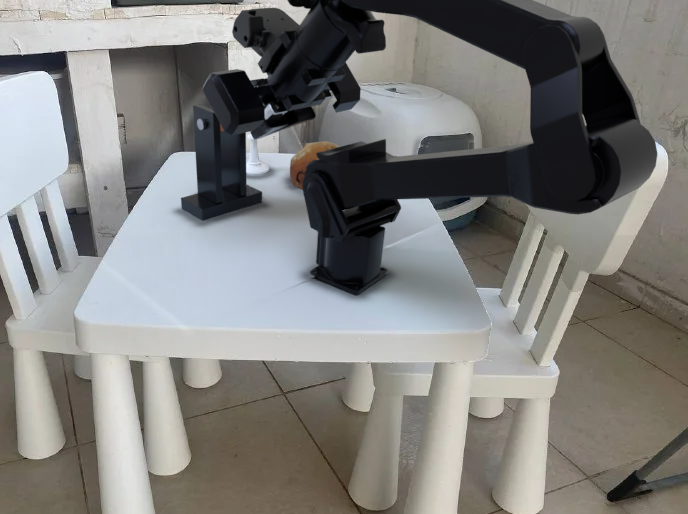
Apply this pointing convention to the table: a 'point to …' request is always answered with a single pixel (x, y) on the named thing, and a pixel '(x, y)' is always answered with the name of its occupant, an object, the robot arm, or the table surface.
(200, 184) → the stand
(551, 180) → the robot arm
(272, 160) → the table surface
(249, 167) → the chess piece
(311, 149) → the bread roll
